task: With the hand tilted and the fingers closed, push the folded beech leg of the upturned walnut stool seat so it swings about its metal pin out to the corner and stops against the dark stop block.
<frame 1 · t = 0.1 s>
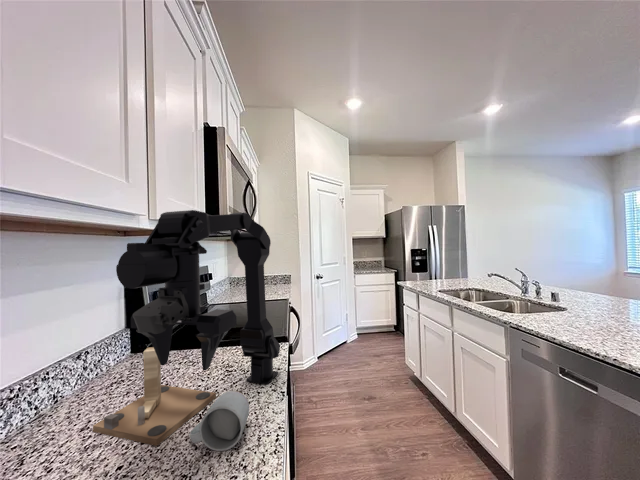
hand: (184, 366, 52), 15 cm above the worktop, tool pointing down, fingers open, 9 cm apart
hinged leg: (148, 380, 63), point 8 cm above the worktop, hinge at -60.0°
ceramic mug: (220, 439, 55), on the worktop
stool seat: (160, 413, 64), on the worktop
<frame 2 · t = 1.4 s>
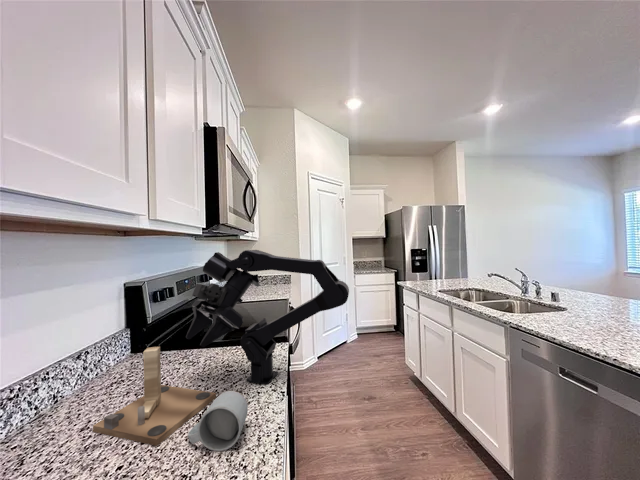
hand: (194, 342, 71), 13 cm above the worktop, tool tilted 45°, fingers open, 9 cm apart
nothing on the worktop moved.
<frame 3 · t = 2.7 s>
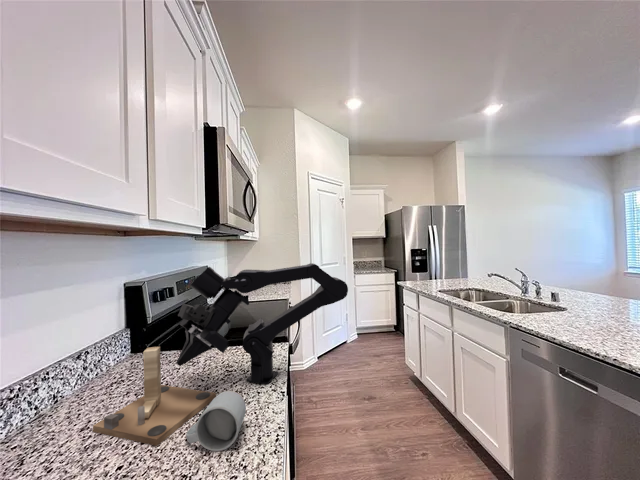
hand: (177, 364, 69), 8 cm above the worktop, tool tilted 45°, fingers closed
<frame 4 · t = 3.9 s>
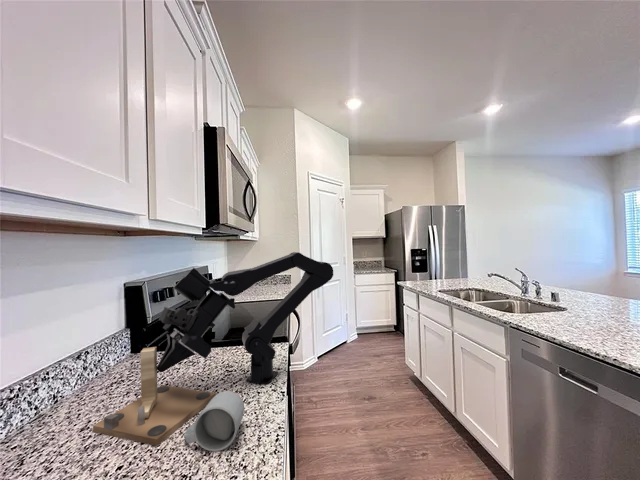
hand: (158, 370, 66), 8 cm above the worktop, tool tilted 45°, fingers closed
hinged leg: (146, 381, 62), point 8 cm above the worktop, hinge at -54.6°, touching gripper
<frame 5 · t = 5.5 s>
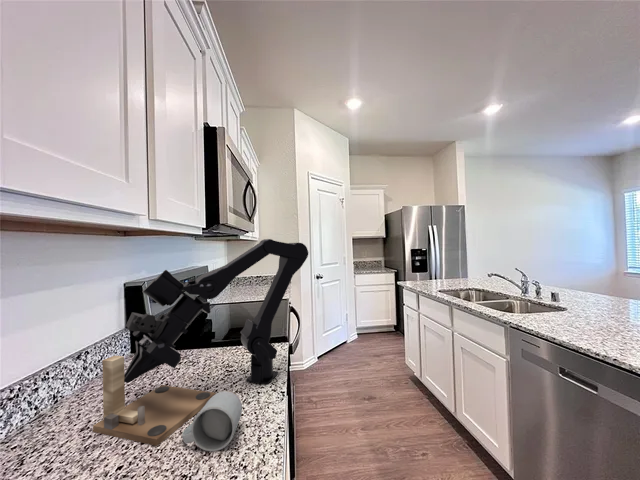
hand: (124, 380, 62), 8 cm above the worktop, tool tilted 45°, fingers closed
hinged leg: (122, 388, 59), point 8 cm above the worktop, hinge at 1.0°, touching gripper
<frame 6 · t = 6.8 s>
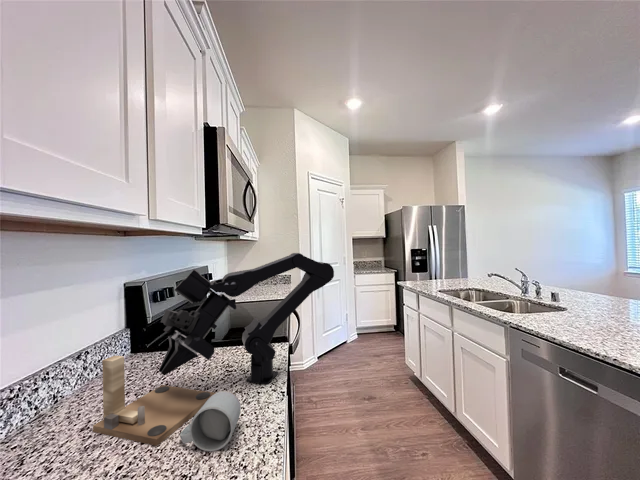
hand: (161, 373, 66), 8 cm above the worktop, tool tilted 45°, fingers closed
hinged leg: (122, 388, 59), point 8 cm above the worktop, hinge at 1.0°
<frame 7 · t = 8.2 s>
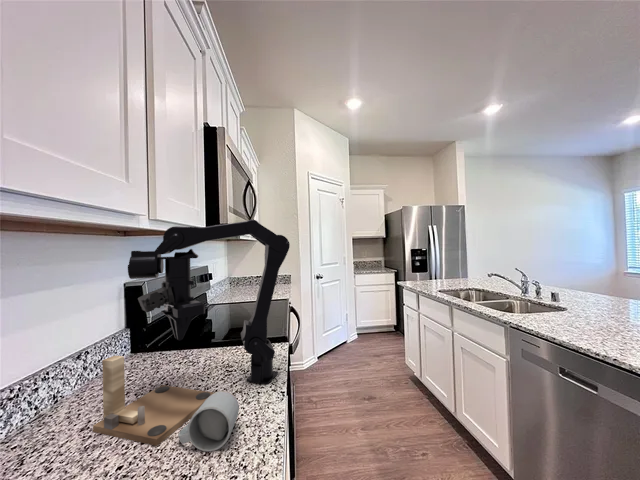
hand: (178, 339, 73), 13 cm above the worktop, tool pointing down, fingers closed
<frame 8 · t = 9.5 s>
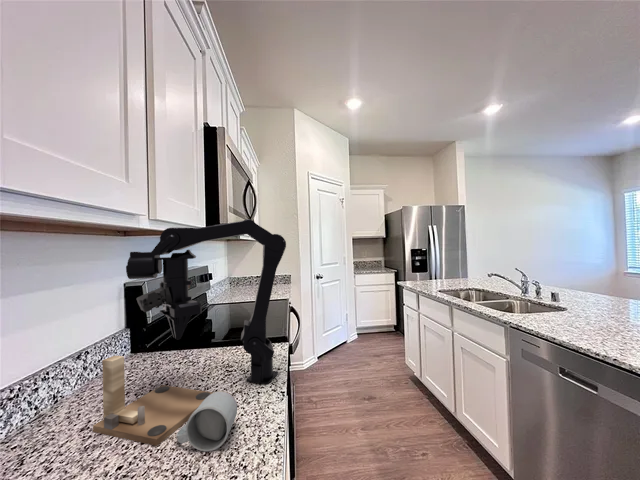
hand: (177, 338, 74), 13 cm above the worktop, tool pointing down, fingers closed
at the end: hinged leg at +1° (first picture: -60°) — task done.
